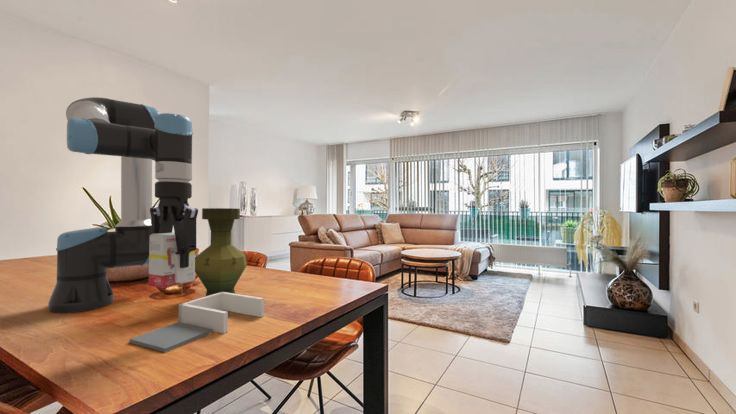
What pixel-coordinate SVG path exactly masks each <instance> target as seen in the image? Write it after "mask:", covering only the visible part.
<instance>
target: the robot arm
mask: <svg viewBox="0 0 736 414" xmlns="http://www.w3.org/2000/svg"><path fill="white" fill-rule="evenodd" d="M65 116H66V120H67V123H66V148H67V150H68V151H70V152H72V153H79V154H84V155H85V154H86V155H101V156H112V157H113V156H114V157H120V160H121V161H120V163H121V164H120V166H121V167H120V170H121V171H120V172H121V173H120V198H121V199H120V208H121V209H120V213H121V214H120V221H118V223H117V224H115V226H114V228H115V229H114V231H109V230H108V229H107V227H101V226H100V227H92V228H83V229H76V230H72V231H65V232H62V233H61V234H60V235H58V237H57V242H56V249H55V251H56V252H57V253H56V284H55V286H54V288H53V291H52V293H51V296H50V297H49V301H48V305H47V306H48V309H47V311H48V312H50V313H54V314H55V313H56V314H57V313H58V314H59V313H60V314H61V313H63V314H65V313H77V312H84V311H89V310H94V309H99V308H103V307H106V306H108V305H111V304H112V303H114V296H115V295H114V292H113V289H112V286H111V284H110V283H109V280H108V274H107V273H108V269H115V268H116V269H118V268H125V267H126V268H128V267H136V266H137V267H138V266H140V267H141V266H142V267H144V266H146V265H149V243H150V235H151V234H158V233H173V232H175V236H176V244H177V250H178V252H175V283H179V282H184V281H188V266H189V253H190V252H192V251H195V252H196V250H197V218H198V215H199V209H198V208H197V207H196V208H195V207H194V208H193V207H191V206H190V203H189V199H191V198H192V194H193V191H192V190H193V184H191V181H192V180H193V162H192V161H193V135H194V132H193V125H192V124H193V123H192V120H191V119H190V117H187V116H185V115H181V114H177V113H170V112H168V113H167V112H164V113H162V112H161V113H160V112H159V110H158V109H157V108H155V107H153V106H148V105H145V104H142V103H141V104H139V103H133V102H127V101H123V100H117V99H110V98H106V97H98V96H97V97H94V96H93V97H86V98H85V97H83V98H80V99H76V100H75V101H73V102H71V103H69V105H68V106H67V108H66V112H65ZM153 161H154V163H155V165H154V166H155V167H154V179H156V180H158V181H156V182H155V183H154V197H155V198H156V199H159V202H158V206H156V207H153Z"/></svg>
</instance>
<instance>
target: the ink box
mask: <svg viewBox="0 0 736 414" xmlns="http://www.w3.org/2000/svg"><path fill="white" fill-rule="evenodd" d="M175 252H178V250H177V244H176V236H175V232H174V231H172V233H158V234H151V235H150V243H149V264H148V287H155V288H162V289H164V288H169V287H172V286H173V287H174V286H177V285H181V284H186V283H191V282H194V281H195V280H196V277H195V276H196V272H195V257H196V250H195V251H192V252H190V253H189V266H188V281H184V282H179V283H175Z"/></svg>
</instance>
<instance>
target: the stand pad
mask: <svg viewBox="0 0 736 414" xmlns="http://www.w3.org/2000/svg"><path fill="white" fill-rule="evenodd" d="M212 333H213V331H212V329H208V328H203V327H198V326H194V325H189V324H185V323H180V322H178V321H177V322H174V323H172V324H169V325H165V326H163V327H159V328H158V329H154V330H150V331H149V332H145V333H143V334H140V335H137V336H134V337H132V338H129V343H130V344H134V345H137V346H142V347H144V348H148V349H152V350H156V351H158V352H163V353H167V352H169V351H172V350H174V349H177V348H179V347H181V346H183V345H186V344H190V342H191V343H192V342H194V341H196V340H198V339H201V338H203V337H206V336H208V335H210V334H212Z"/></svg>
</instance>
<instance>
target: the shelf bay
mask: <svg viewBox="0 0 736 414" xmlns="http://www.w3.org/2000/svg"><path fill="white" fill-rule="evenodd" d="M205 296H206V295H205ZM205 296H203V297H199V298H196V299H192V300H190V301H186V302H182V303H180V304H178V313H177V314H178V317H177V318H178V321H177V322H180V323H185V324H189V325H194V326H198V327H203V328H208V329H212V332H214V333H215V332H216V333H219V334H226V333H228V328H229V326H228V323H229V320H228V319H229V316H228V314H229V313H228V312H231V313H236V314H243V315H246V316H247V315H248V316H253V317H258V318H262V317H264V316H265V297H259V296H253V295H246V294H239V293H235V294H234V293H227V292H220V293H216V294H213V295H209V296H206V297H205Z"/></svg>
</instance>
